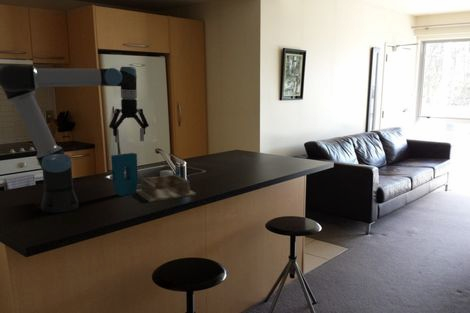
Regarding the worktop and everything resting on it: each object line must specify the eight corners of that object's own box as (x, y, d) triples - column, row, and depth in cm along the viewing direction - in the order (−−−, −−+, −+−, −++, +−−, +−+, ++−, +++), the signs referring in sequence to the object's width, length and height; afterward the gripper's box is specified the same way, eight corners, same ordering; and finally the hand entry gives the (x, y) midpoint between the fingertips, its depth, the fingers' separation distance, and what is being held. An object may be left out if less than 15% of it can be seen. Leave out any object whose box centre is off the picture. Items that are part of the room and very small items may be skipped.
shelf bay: (149, 201, 186) (148, 187, 185) (135, 192, 205) (134, 178, 204) (196, 194, 198) (195, 181, 197) (178, 186, 217) (178, 173, 216)
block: (117, 196, 196) (115, 156, 193) (112, 195, 200) (110, 155, 196) (139, 192, 204) (137, 153, 201) (134, 190, 208) (132, 152, 204)
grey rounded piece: (163, 187, 214) (162, 173, 213) (158, 185, 220) (158, 170, 219) (175, 186, 218) (174, 171, 216) (170, 183, 224) (170, 169, 222)
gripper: (108, 98, 186) (109, 144, 189) (155, 99, 202) (155, 141, 205) (101, 98, 191) (102, 142, 194) (147, 99, 208) (148, 139, 211)
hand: (129, 141), depth 200 cm, fingers open, 13 cm apart
